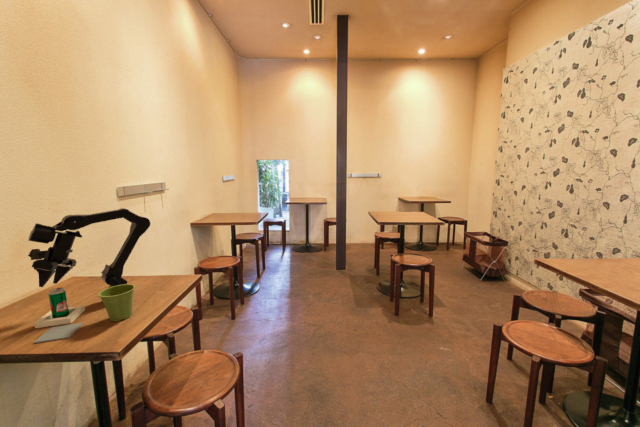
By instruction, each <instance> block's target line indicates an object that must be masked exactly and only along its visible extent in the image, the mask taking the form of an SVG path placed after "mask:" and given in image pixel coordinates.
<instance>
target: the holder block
mask: <svg viewBox="0 0 640 427" xmlns="http://www.w3.org/2000/svg"><path fill="white" fill-rule="evenodd" d="M68 308H69V315H68V316H67V317H61V318H54V319H52V313H51V310H50V311H48V312H47V313H45V315H43V316H42V317H40V318H39V319H38V320H36V321H35V322H34V328H35V329H40V328H46V327H56V326H63V325H70V324H73V322H74V321H75V320H77V319H78V317H79V316H81V315H82V314H83V313H84V312H85V311H86V308H85V305H79V306H78V305H77V306H71V307H68Z"/></svg>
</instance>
